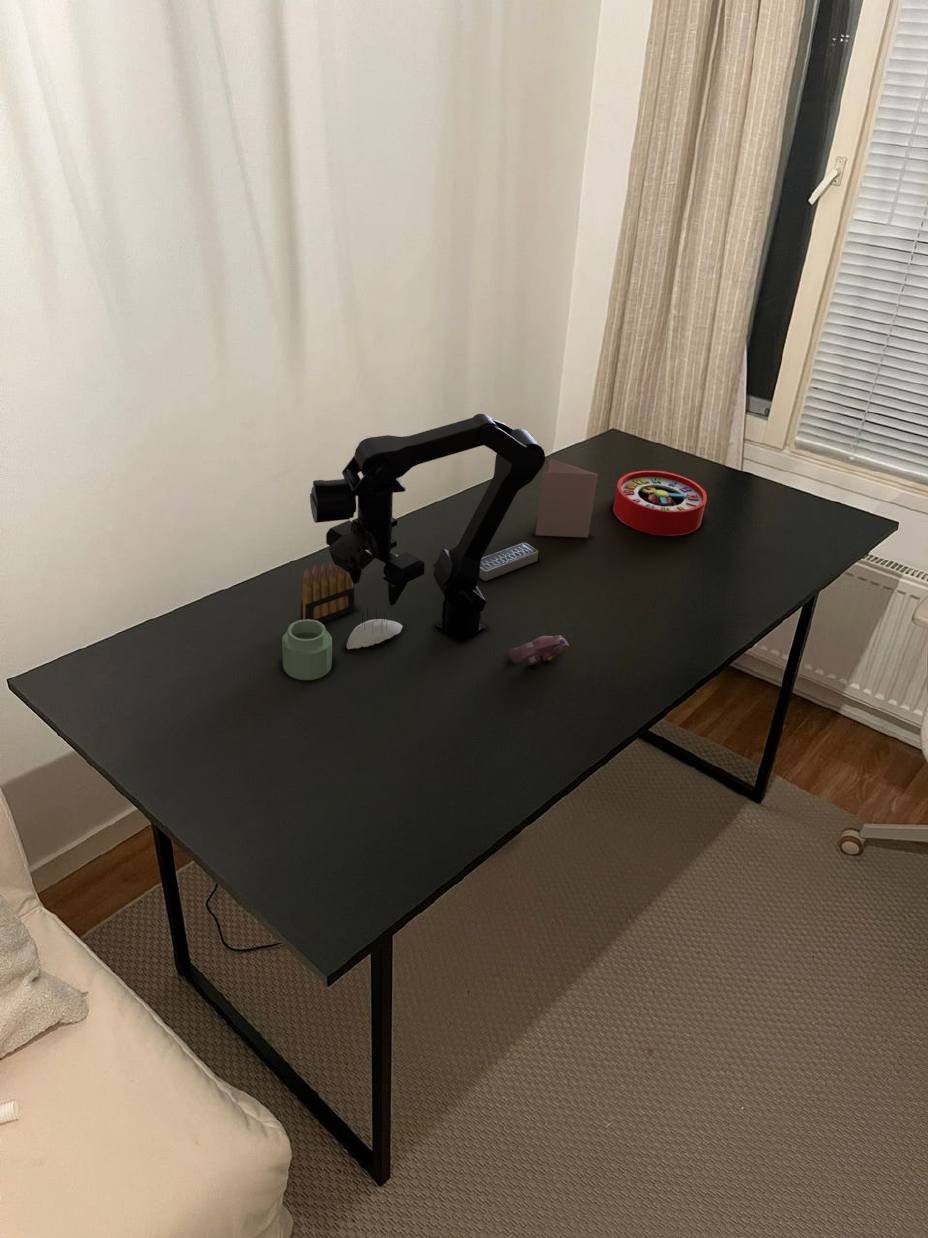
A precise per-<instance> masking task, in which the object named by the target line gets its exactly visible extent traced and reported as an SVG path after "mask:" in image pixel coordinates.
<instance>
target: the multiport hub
mask: <svg viewBox="0 0 928 1238" xmlns="http://www.w3.org/2000/svg"><path fill="white" fill-rule="evenodd" d="M538 557H539V550H538V549H537V548H535V547H533V546H532V545H530V544H529V543H527V542H521V543H519V544H516V545H514V546H510V547H508V548H506V549H505V548H504V549H502V550H500V551H497V552H495V553H492V554H489V555H487V556H483V557H482V559H481V563H480V574H479V579H481V580H483V581H485V582H486V581H489V580H492V579H494V578H497V577H500V576H502V575H505V574H507V573H510V572H512V571H515V570H518V569H521V568H523V567H525V566H528V565H530V564H533V563H535V562H537V561H538Z"/></svg>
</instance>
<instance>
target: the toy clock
mask: <svg viewBox="0 0 928 1238" xmlns="http://www.w3.org/2000/svg"><path fill="white" fill-rule="evenodd" d="M707 498H708V497H707V493H706V491H705V489H704V488H702V487H701V485H699V484H698V482H697V483H696V482H695V481H694V480H691V479H689V478H687V477H685V476H682V475H679V474H675V473H672V472H667V471H662V470H661V471H660V470H638V471H633V472H629V473H627V474H624V475H623V476H622V477H620V478H619V480H618V481H617V485H616V489H615V497H614V501H613V508H612V509H613V510H612V511H613V513H614V515H615V516H616V517H617V519H618V520H619V521H620V522H621V523H623V524H625V525H626V526H628V527H630V528H632V529H634V530H637V531H640V532H642V533H646V534H651V535H656V536H665V537H666V536H667V537H668V536H669V537H675V536H682V535H687V534H690V533H692V532H694V531H696V530H697V529H699V528H700V526H701V524H702V520H703V516H704V512H705V508H706V503H707Z"/></svg>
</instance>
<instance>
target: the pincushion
mask: <svg viewBox="0 0 928 1238" xmlns="http://www.w3.org/2000/svg"><path fill="white" fill-rule="evenodd" d="M366 610H367V612H366V613H367V615H366V619H367V620H365V621H364V614H362V620H361V621H362V622H361V623H360V624H359V625H357V626H355V628H353V630H352V631H351V632H350V635H349V637H348V638H347V642H346V649H347V650H353V649H360V648H361V647H363V648H365V647H366V648H368V647H370V646H374V645H375V644H376V645H378V644H380V643H382V642H385V640H389V639H391V638H393V637H394V636H395V635H398V634H400V633H401V632H402V629H403V628H404V627H403V626H404V625H402V624H401V623H400V622H398V621H395V620H391V619H386V612H384V615H383V616H384V617H383V618H378V612H377V611H378V609H376V616H375V617H376V618H375V619H369V607H367V608H366Z"/></svg>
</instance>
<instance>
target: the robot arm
mask: <svg viewBox="0 0 928 1238" xmlns="http://www.w3.org/2000/svg"><path fill="white" fill-rule="evenodd" d="M482 446H483V447H486V448H488V449H490V450H491V451H493V452H494V453H495V459H494V460H495V461H494V469H493V470H494V471H493V472H494V473H493V477H492V479H491V480H490V482H489V484H488V486H487V488H486V490H485V492H484V494H483V496H482V498H481V500H480V501H479V504H478V505H477V507H476V510H475V511H474V513H473V515H472V517H471V519H470V521H469V523H468V524H467V526H466V528H465V530H464V532H463V534H462V536H461V538H460V539H459V541H458V544H457V545H456V546H455V547H453V548H451V549H450V550H447V549H446V548H442V549H441V550H440V553H439V555H438V556H439V557H438V559H437V560H436V561H435V562H434V564H432V567H433V579H434V581H435V582H436V584H437V586H438V588H439V590H440V591H441V593H442V595H443V598H444V599H443V601H442V611H441V620H442V621H440V622H438V623H437V624H436V628H437V629H439V630H441V631H442V632H444V633H446V634H448V635H449V636H451V637H452V638H453V639H456V640H458V641H459V642H464V641H466V640H468V639H470V638H471V637H473V636H474V635H476V634H478V633H480V632H482V631H483V630H485V625H484V624H482V623H481V622H480V621H481V612H483V611H484V609H485V607H486V605H487V600H486V598H485V597H484V596H483V593H482V592H481V590H480V589H479V587H478V583H479V579H480V577H479V574H480V563H481V559H482V558H484V555H485V553H486V551H487V549H488V548H489V546H490V544H491V542H492V540H493V538H494V537H495V535H496V533H497V531H498V529H499V527H500V525H501V523H502V521H503V520H504V518H505V516H506V514H507V512H508V510H509V509H510V507H511V506H512V503H513V502H514V499H515V497H516V496H517V493H518V492H519V491H520V490H521V489H523V488H524V487H526V486H527V485H528V484H530V483H531V482H532V481H533V480H534V479H535V478H536V476H537V475H538V474H539V473H540V471H541V470H542V468H544V465H545V462H546V454H545V453H546V452H545V450H544V448H543V447H542V446H541V445H540V444H539V442H538V441H537V440H536V439H535V438H534V437H533V436H532V434H530V432H529V431H528V430H526V429H523V428H515V429H514V428H512V427H511V426H509V425H507V424H505V423H504V422H502V421H499V420H496V419H494V418H492V417H491V416H489V415H488V414H485V413H477V414H475V415H473V416H472V417H470V418H466V419H463V420H460V421H455V422H453V423H449V424H446V425H442V426H439V427H435V428H432V429H428V430H425V431H421V432H418V433H414V434H411V435H405V436H397V435H388V434H387V435H380V436H370V437H367V438H365V439H362V440H361V441H360V442H358V445H357V446H356V448H355V451H354V454H353V456H352V458H350V460H349V462H348V463H347V464H346V466H345V467H344V468H343V470H342V471H341V474H342V476H343V478H340V479H339V478H338V479H329V480H326V479H318V480H317V479H316V480H313V481H312V486H311V491H310V492H311V493H309V504H310V510H311V516H312V518H313V522H314V523H315V524H316V523H317V524H318V523H327V522H336V521H344V522H341V523H339V524H337V525H333V526H332V527H330V528H329V529H328V530H327V532H326V534H325V544H326V545H327V546H329V548H328V551H329V554H330V558H331V560H333V562H334V566H335V567H337V566H339V567H341V568H343V570H344V572H345V571H347V572H349V574H350V576H351V579H352V582H353V585H356V584H358V583H360V579H361V576H362V571H363V570H364V569H365V568H366V567H368V566H369V565H370V564H371V563H372V562H373V560H375V559H377V560H378V561H380V562H382V563H384V566H383V574H384V577H382V580H383V581H385V582H387V590H388V592H387V593H388V596H387V597H388V605H389V606H391V607H392V606H394V605H396V603H397V602H398V600H399V599H400V596H401V595H402V593H403V591H404V589H405V588H406V586H407V585H408V583H410V582H411V581H414V580H415V579H418V578H419V577H421V576H424V575H425V566H426V565H425V561H423V560H422V559H420V558H419V557H417V556H416V555H414V554H412V553H410V552H408V551H405V552H403V553H401V554H399V555H398V554H397V553H394V552H393V551H392V549H395V548H396V547H397V546H398V541H397V540H395V539H394V538H393V528H394V527H397V526H398V519H397V518H395V517H394V516H393V504H394V503H393V502H394V501H393V498H394V497H393V496H394V494H395V493H404V492H405V491H406V486H405V484H404V483H403V482H402V480H401V479H400V478H401V477H403V476H404V475H406V474H407V473H408V472H409V471H410V470H411V469H412V468H414V467H416V466H419V465H421V464H422V465H423V464H425V463H429V462H432V461H435V460H438V459H442V458H446V457H449V456H452V455H455V454H458V453H462V452H466V451H469V450H473V449H475V448H479V447H482ZM360 472H361V474H362V477H360V475H359V474H360ZM356 512H357V517H356V518H354V517H355V513H356ZM353 518H354V519H353ZM350 519H352V520H350Z"/></svg>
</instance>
